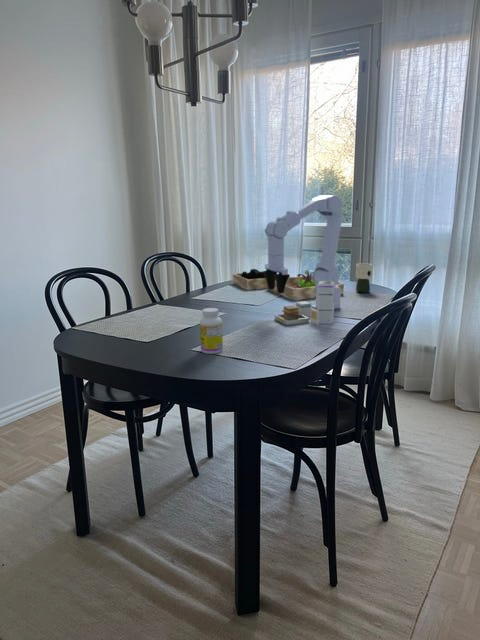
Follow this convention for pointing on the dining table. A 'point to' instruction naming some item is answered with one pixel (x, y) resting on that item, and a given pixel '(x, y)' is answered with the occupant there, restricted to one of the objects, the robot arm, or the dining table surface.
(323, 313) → the syrup box
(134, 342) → the dining table surface
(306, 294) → the oak planter frame
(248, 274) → the film camera
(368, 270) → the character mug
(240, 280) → the shallow wooden crate
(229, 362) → the dining table surface
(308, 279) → the plant
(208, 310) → the supplement bottle
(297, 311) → the walnut block
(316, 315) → the label plate
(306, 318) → the parts tray
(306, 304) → the grey block
